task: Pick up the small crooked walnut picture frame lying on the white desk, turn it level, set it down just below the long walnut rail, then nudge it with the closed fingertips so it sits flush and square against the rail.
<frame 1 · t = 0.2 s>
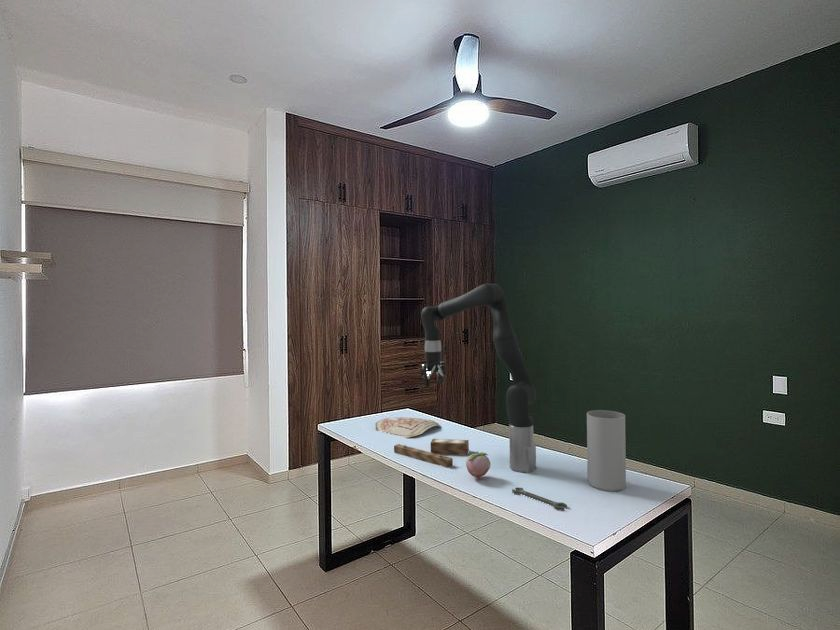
hand: (433, 385, 204), 28 cm above the table, tool pointing down, fingers open, 8 cm apart
poster: (407, 429, 237), on the table
cylinder vase: (606, 485, 159), on the table
walnut rail: (422, 458, 189), on the table
walnut frame: (449, 452, 197), on the table
wrench: (538, 501, 148), on the table
decorative fruit: (477, 478, 167), on the table
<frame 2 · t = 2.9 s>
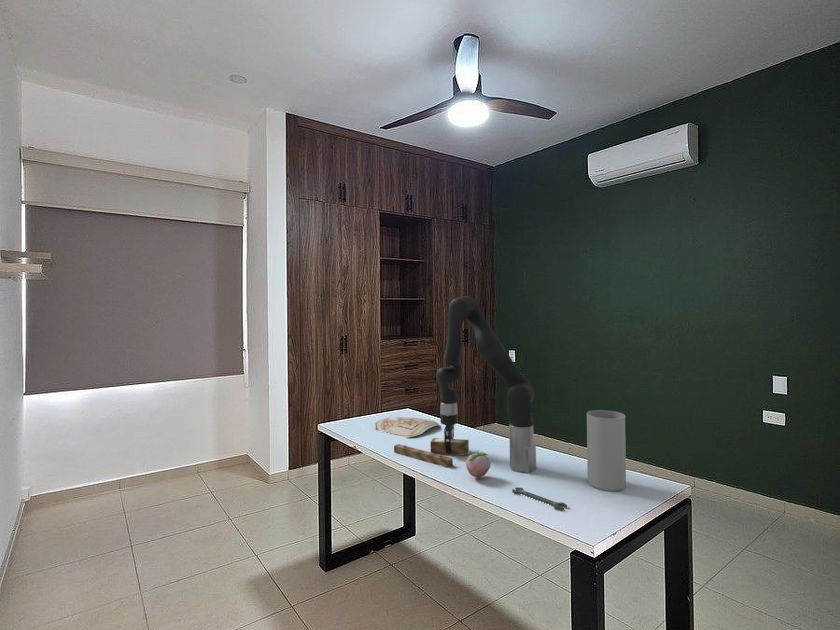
hand: (449, 450, 197), 1 cm above the table, tool pointing down, fingers closed on walnut frame, 6 cm apart
walnut frame: (449, 452, 197), on the table, touching gripper
everything else where it was.
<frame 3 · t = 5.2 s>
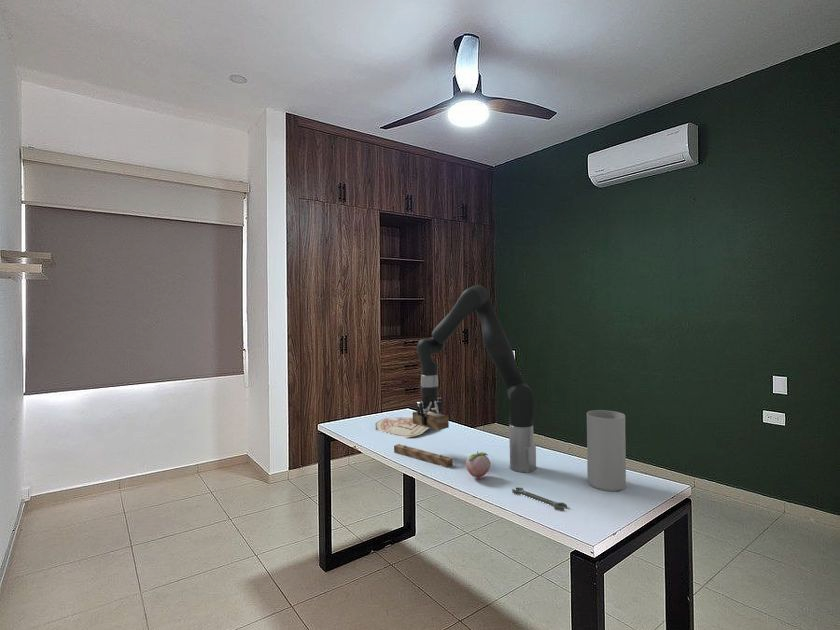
hand: (430, 423, 193), 14 cm above the table, tool pointing down, fingers closed on walnut frame, 6 cm apart
walnut frame: (430, 425, 193), point 13 cm above the table, touching gripper
everything else where it was.
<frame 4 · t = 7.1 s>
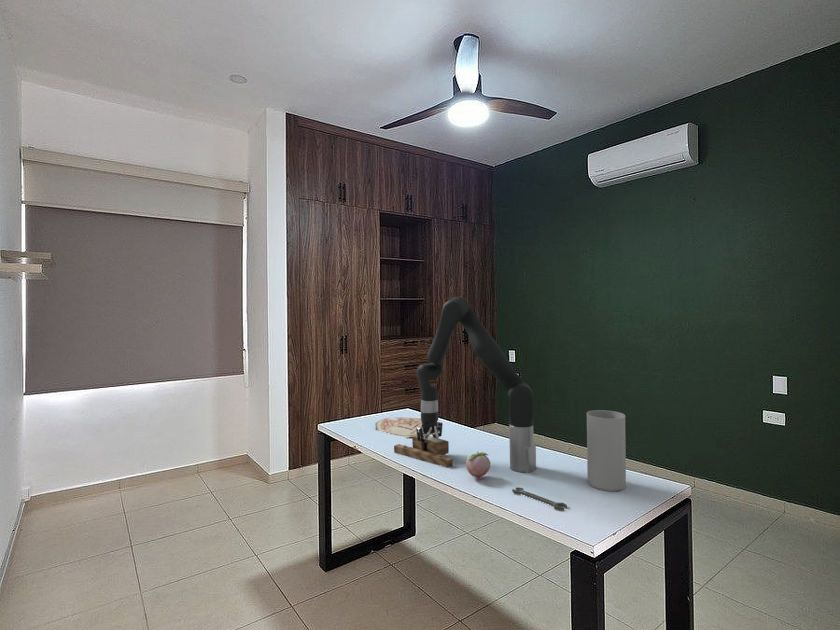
hand: (430, 448, 193), 3 cm above the table, tool pointing down, fingers closed on walnut frame, 6 cm apart
walnut frame: (430, 450, 193), point 2 cm above the table, touching gripper
everything else where it was.
when the fingers open (3 cm above the table, at t = 7.8 s): walnut frame drops 2 cm, on the table.
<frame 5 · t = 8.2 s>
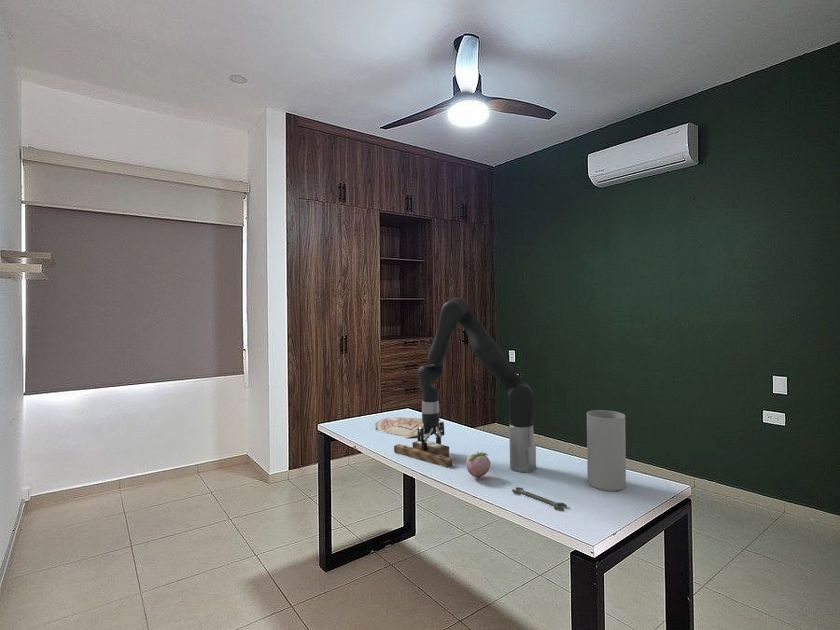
hand: (431, 448, 194), 3 cm above the table, tool pointing down, fingers open, 8 cm apart
walnut frame: (430, 456, 193), on the table
everything else where it was.
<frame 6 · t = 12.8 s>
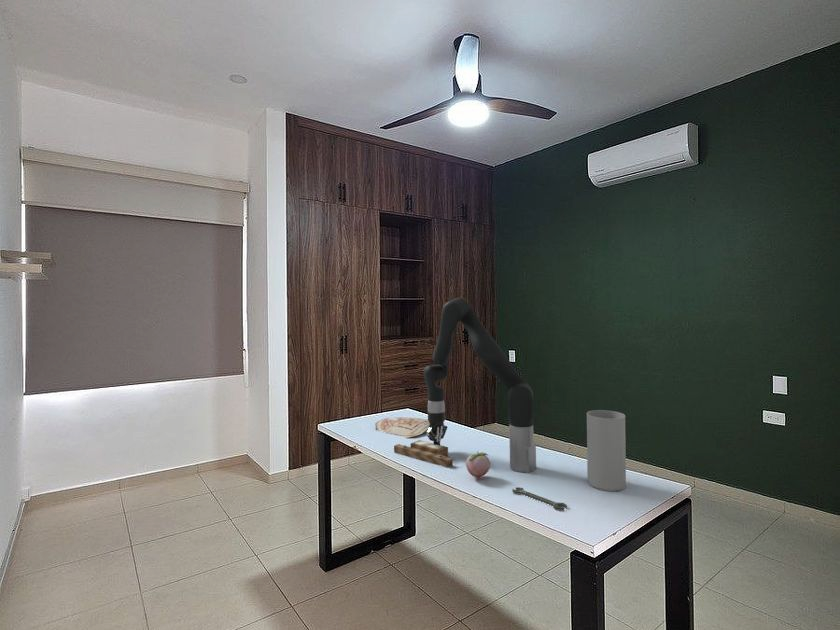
hand: (436, 449, 197), 1 cm above the table, tool pointing down, fingers closed
walnut frame: (429, 456, 193), on the table, touching gripper
everything else where it was.
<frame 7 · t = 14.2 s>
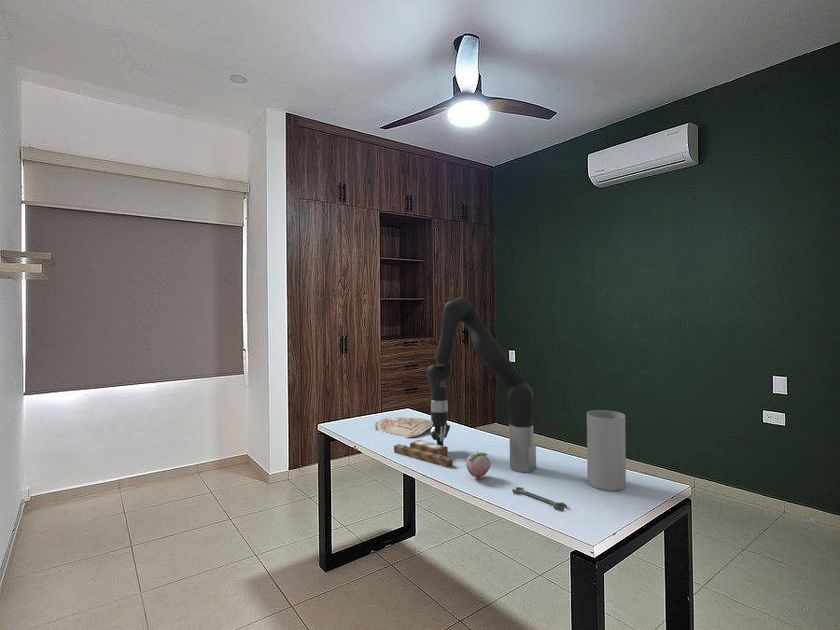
hand: (440, 448, 198), 1 cm above the table, tool pointing down, fingers closed
walnut frame: (428, 456, 193), on the table
everything else where it was.
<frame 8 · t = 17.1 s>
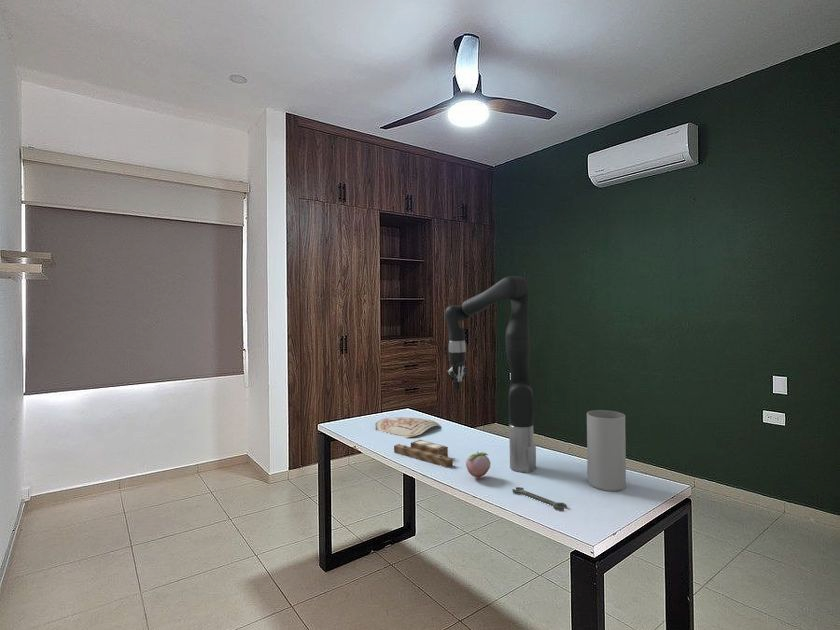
hand: (457, 389, 198), 27 cm above the table, tool pointing down, fingers closed
nothing on the table moved.
at the end: walnut frame inside the target area (0.3 cm from its centre), on the table; walnut frame tilted 0°; the gripper is holding nothing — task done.
